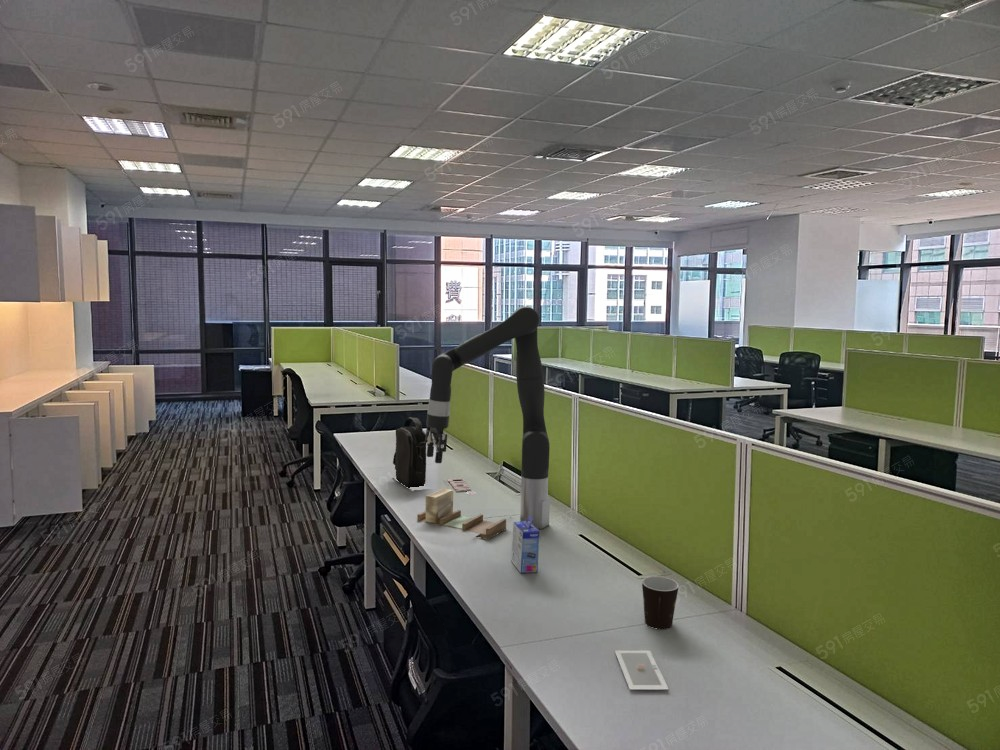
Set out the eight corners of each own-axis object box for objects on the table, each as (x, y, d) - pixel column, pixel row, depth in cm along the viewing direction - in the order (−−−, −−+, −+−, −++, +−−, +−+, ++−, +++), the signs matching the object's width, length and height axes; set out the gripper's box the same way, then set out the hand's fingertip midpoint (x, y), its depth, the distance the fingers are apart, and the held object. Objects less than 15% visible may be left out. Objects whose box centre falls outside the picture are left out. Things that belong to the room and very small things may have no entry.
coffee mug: (650, 611, 170) (652, 573, 168) (682, 622, 164) (684, 582, 163) (627, 628, 161) (629, 587, 159) (661, 640, 155) (663, 598, 154)
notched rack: (505, 529, 229) (506, 519, 228) (488, 539, 218) (488, 529, 218) (436, 515, 242) (437, 505, 242) (417, 524, 232) (417, 514, 231)
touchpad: (629, 694, 134) (630, 684, 134) (614, 655, 149) (614, 646, 149) (668, 694, 134) (669, 684, 134) (649, 655, 149) (650, 646, 149)
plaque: (441, 477, 292) (463, 476, 294) (441, 480, 292) (463, 478, 295) (457, 499, 259) (482, 498, 262) (457, 502, 260) (482, 501, 262)
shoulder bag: (432, 488, 276) (433, 421, 273) (411, 491, 271) (412, 422, 268) (410, 476, 295) (411, 412, 292) (391, 478, 291) (391, 414, 288)
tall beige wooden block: (453, 514, 238) (453, 489, 237) (435, 523, 228) (435, 497, 227) (442, 512, 240) (443, 488, 239) (425, 521, 230) (425, 495, 230)
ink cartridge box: (539, 572, 193) (540, 523, 191) (520, 574, 191) (521, 524, 190) (528, 559, 202) (529, 512, 201) (510, 561, 201) (511, 513, 199)
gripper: (456, 417, 225) (451, 465, 227) (441, 409, 238) (437, 454, 239) (435, 417, 221) (430, 465, 223) (421, 409, 234) (416, 454, 236)
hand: (433, 459), depth 231 cm, fingers open, 8 cm apart
